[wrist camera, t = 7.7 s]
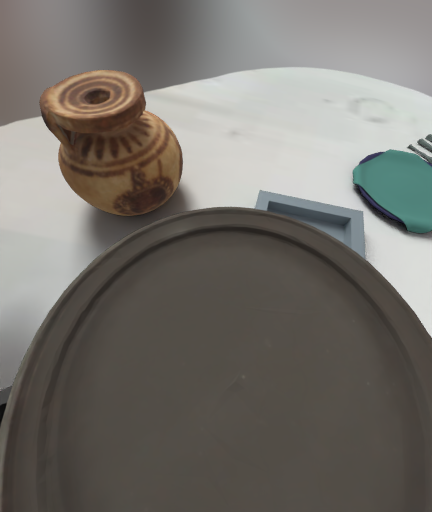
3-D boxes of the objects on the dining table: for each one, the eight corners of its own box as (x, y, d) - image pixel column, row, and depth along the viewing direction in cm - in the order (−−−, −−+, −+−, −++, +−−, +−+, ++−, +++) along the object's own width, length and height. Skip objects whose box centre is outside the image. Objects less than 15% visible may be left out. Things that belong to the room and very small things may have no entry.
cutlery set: (330, 178, 44) (336, 169, 42) (418, 134, 51) (427, 125, 49) (412, 251, 36) (424, 244, 34) (501, 187, 44) (515, 179, 42)
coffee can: (194, 285, 20) (165, 166, 8) (296, 335, 19) (477, 284, 6) (131, 398, 16) (-155, 539, 4) (253, 477, 14) (553, 1351, 2)
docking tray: (235, 286, 33) (237, 280, 30) (256, 201, 41) (259, 190, 38) (354, 318, 31) (367, 314, 28) (352, 221, 39) (363, 211, 36)
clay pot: (165, 131, 46) (152, 21, 26) (194, 210, 45) (205, 159, 25) (73, 153, 42) (-22, 44, 22) (104, 239, 41) (33, 205, 22)
